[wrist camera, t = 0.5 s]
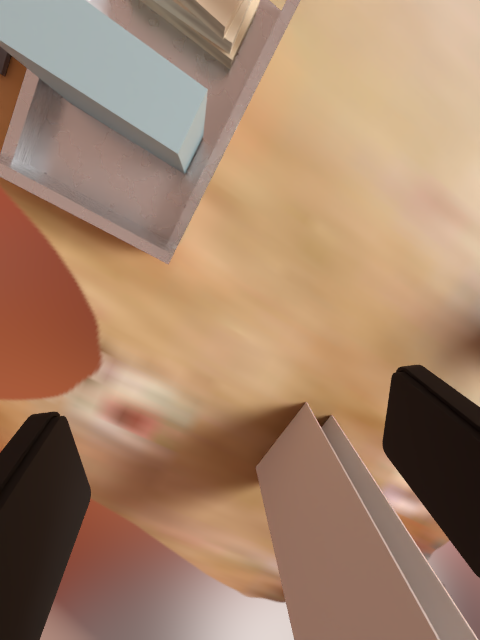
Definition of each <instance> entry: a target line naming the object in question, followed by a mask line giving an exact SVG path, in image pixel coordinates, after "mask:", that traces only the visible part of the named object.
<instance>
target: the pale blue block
mask: <svg viewBox="0 0 480 640" xmlns="http://www.w3.org/2000/svg"><path fill="white" fill-rule="evenodd" d="M0 47H2V48H3V49H4V50H5V51H7V52H8V53H9V54H10V55H11V56H13V57H14V58H15V59H16V60H18V61H19V62H20V63H21V64H23V65H24V66H25V67H26V68H27V69H29V70H30V71H31V72H32V73H34V74H35V75H36V76H37V77H39V78H40V79H41V80H42V81H44V82H45V83H46V84H47V85H48V86H50V87H51V88H52V89H53V90H55V91H56V92H57V93H58V94H60V95H61V96H62V97H63V98H65V99H66V100H67V101H68V102H69V103H71V104H72V105H74V106H76V107H77V108H79V109H80V110H82V111H84V112H85V113H87V114H88V115H90V116H92V117H93V118H95V119H96V120H98V121H100V122H101V123H103V124H105V125H106V126H108V127H109V128H111V129H113V130H114V131H116V132H117V133H119V134H121V135H122V136H124V137H125V138H127V139H129V140H130V141H132V142H133V143H135V144H137V145H138V146H140V147H141V148H143V149H145V150H146V151H148V152H150V153H151V154H153V155H154V156H156V157H158V158H159V159H161V160H162V161H164V162H166V163H167V164H169V165H170V166H172V167H174V168H175V169H177V170H178V171H180V172H182V173H183V174H185V175H186V173H187V171H188V168H189V166H190V164H191V162H192V160H193V158H194V156H195V154H196V152H197V150H198V147H199V145H200V143H201V141H202V139H203V133H204V123H205V113H206V102H207V92H208V89H207V88H205V87H204V86H202V85H201V84H200V83H198V82H197V81H196V80H194V79H193V78H191V77H190V76H189V75H187V74H186V73H185V72H183V71H182V70H180V69H179V68H178V67H176V66H175V65H174V64H172V63H171V62H169V61H168V60H167V59H165V58H164V57H163V56H161V55H160V54H158V53H157V52H156V51H154V50H153V49H152V48H150V47H149V46H147V45H146V44H145V43H143V42H142V41H141V40H139V39H138V38H136V37H135V36H134V35H132V34H131V33H130V32H128V31H127V30H125V29H124V28H123V27H121V26H120V25H119V24H117V23H116V22H115V21H113V20H112V19H110V18H109V17H108V16H106V15H105V14H104V13H102V12H101V11H99V10H98V9H97V8H95V7H94V6H93V5H91V4H90V3H88V2H87V1H86V0H0Z"/></svg>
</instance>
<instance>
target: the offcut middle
mask: <svg viewBox="0 0 480 640" xmlns="http://www.w3.org/2000/svg"><path fill="white" fill-rule="evenodd" d="M153 1H155V2H156V3H157V4H159V5H160V6H162V7H163V8H165V9H166V10H167V11H169V12H170V13H172V14H173V15H175V16H176V17H177V18H179V19H180V20H182V21H183V22H185V23H186V24H187V25H189V26H190V27H192V28H193V29H195V30H196V31H197V32H199V33H200V34H202V35H203V36H205V37H206V38H207V39H209V40H210V41H212V42H213V43H215V44H216V45H217V46H219V47H220V48H222V49H223V50H225V51H226V52H227V53H229V54H230V53H231V50H232V48H233V45H234V43H235V40H236V38H237V35H238V33H239V31H240V28H241V26H242V23H243V21H244V18H245V16H246V13H247V11H248V9H249V6H250V4H251V1H252V0H244V1H243V3H242V5H241V6H240V8H239V10H238V12H237V14H236V16H235V18H234V20H233V22H232V24H231V26H230V28H229V30H228V32H227V34H226V35H225V37H224V39H223V40H222V39H221V38H220V37H219V36H218V35H217V34H216V33H214V32H213V31H212V30H211V29H210V28H209V27H208V26H207V25H205V24H204V23H203V22H202V21H201V20H200V19H199V18H197V17H196V16H195V15H194V14H193V13H192V12H191V11H190V10H188V9H187V8H186V7H185V6H184V5H183V4H182V3H180V2H179V1H178V0H153Z"/></svg>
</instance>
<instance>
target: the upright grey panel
mask: <svg viewBox="0 0 480 640" xmlns="http://www.w3.org/2000/svg"><path fill="white" fill-rule="evenodd" d="M256 472H257V476H258V480H259V485H260V489H261V494H262V498H263V503H264V507H265V512H266V516H267V520H268V525H269V529H270V534H271V538H272V543H273V547H274V552H275V556H276V560H277V565H278V569H279V574H280V578H281V583H282V587H283V592H284V596H285V600H286V605H287V609H288V614H289V618H290V623H291V627H292V631H293V635H294V640H478V638H477V637H476V635H475V634H474V632H473V631H472V629H471V628H470V626H469V624H468V623H467V621H466V620H465V618H464V617H463V615H462V614H461V612H460V611H459V609H458V607H457V606H456V604H455V603H454V601H453V600H452V598H451V597H450V595H449V594H448V592H447V591H446V589H445V587H444V586H443V584H442V583H441V581H440V580H439V578H438V577H437V575H436V574H435V572H434V571H433V569H432V568H431V566H430V564H429V563H428V561H427V560H426V558H425V557H424V555H423V554H422V552H421V550H420V549H419V547H418V546H417V544H416V543H415V541H414V540H413V538H412V537H411V535H410V534H409V532H408V530H407V529H406V527H405V526H404V524H403V523H402V521H401V520H400V518H399V517H398V515H397V513H396V512H395V510H394V509H393V507H392V506H391V504H390V503H389V501H388V500H387V498H386V497H385V495H384V493H383V492H382V490H381V489H380V487H379V486H378V484H377V483H376V481H375V480H374V478H373V477H372V475H371V473H370V472H369V470H368V469H367V467H366V466H365V464H364V463H363V461H362V460H361V458H360V456H359V455H358V453H357V452H356V450H355V449H354V447H353V446H352V444H351V443H350V441H349V440H348V438H347V436H346V435H345V433H344V432H343V430H342V429H341V427H340V426H339V424H338V423H337V421H336V419H335V418H334V416H333V415H331V416H330V417H329V419H328V420H327V421H326V422H325V424H324V425H323V426H322V427H321V426H320V425H319V423H318V421H317V419H316V417H315V416H314V414H313V412H312V410H311V409H310V407H309V405H308V403H305V404H304V405H303V407H302V408H301V409H300V411H299V412H298V413H297V414H296V416H295V417H294V418H293V420H292V421H291V422H290V423H289V425H288V426H287V427H286V429H285V430H284V431H283V433H282V434H281V435H280V436H279V438H278V439H277V440H276V442H275V443H274V444H273V445H272V447H271V448H270V449H269V451H268V452H267V453H266V454H265V456H264V457H263V458H262V460H261V461H260V462H259V464H258V465H257V466H256Z"/></svg>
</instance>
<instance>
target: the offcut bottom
mask: <svg viewBox="0 0 480 640" xmlns="http://www.w3.org/2000/svg"><path fill="white" fill-rule="evenodd" d="M140 1H142V2H143V3H144V4H145V5H147V6H148V7H149V8H151V9H152V10H153V11H155V12H156V13H157V14H158V15H160V16H161V17H162V18H164V19H165V20H166V21H168V22H169V23H170V24H171V25H173V26H174V27H175V28H177V29H178V30H179V31H181V32H182V33H183V34H184V35H186V36H187V37H188V38H190V39H191V40H192V41H194V42H195V43H196V44H198V45H199V46H200V47H201V48H203V49H204V50H205V51H207V52H208V53H209V54H211V55H212V56H213V57H214V58H216V59H217V60H218V61H220V62H221V63H222V64H224V65H225V66H226V67H227V68H229V69H230V68H231V66H232V63H233V61H234V59H235V57H236V55H237V53H238V51H239V49H240V46H241V44H242V42H243V40H244V38H245V36H246V34H247V32H248V30H249V27H250V25H251V23H252V21H253V19H254V17H255V15H256V12H257V9H258V6H259V2H260V0H252V1H251V4H250V6H249V9H248V11H247V13H246V16H245V18H244V21H243V23H242V26H241V28H240V31H239V33H238V35H237V38H236V40H235V43H234V45H233V48H232V50H231V53H230V54H229V53H227V52H226V51H225V50H223V49H222V48H220V47H219V46H217V45H216V44H215V43H213V42H212V41H210V40H209V39H207V38H206V37H205V36H203V35H202V34H200V33H199V32H197V31H196V30H195V29H193V28H192V27H190V26H189V25H187V24H186V23H185V22H183V21H182V20H180V19H179V18H177V17H176V16H175V15H173V14H172V13H170V12H169V11H167V10H166V9H165V8H163V7H162V6H160V5H159V4H157V3H156V2H155V1H153V0H140Z"/></svg>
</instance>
